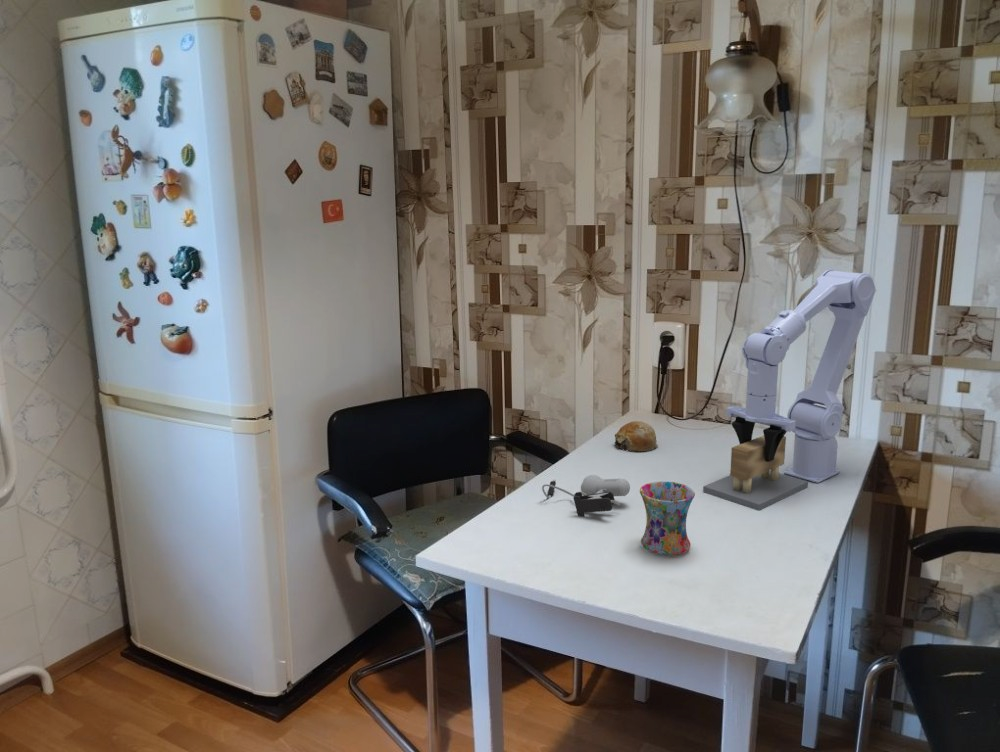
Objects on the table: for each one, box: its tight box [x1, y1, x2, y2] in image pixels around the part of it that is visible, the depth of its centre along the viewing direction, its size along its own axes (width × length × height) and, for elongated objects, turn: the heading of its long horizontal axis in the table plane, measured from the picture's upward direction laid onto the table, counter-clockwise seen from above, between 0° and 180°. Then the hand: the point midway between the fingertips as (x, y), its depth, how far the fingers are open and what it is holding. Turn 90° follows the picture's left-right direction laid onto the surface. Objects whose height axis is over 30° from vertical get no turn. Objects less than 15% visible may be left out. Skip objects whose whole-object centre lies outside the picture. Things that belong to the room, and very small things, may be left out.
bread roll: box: [614, 420, 659, 453], centre depth 192 cm, size 10×10×8 cm
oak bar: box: [729, 435, 787, 480], centre depth 163 cm, size 14×4×6 cm, turn 130°
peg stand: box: [702, 466, 809, 511], centre depth 164 cm, size 18×13×4 cm
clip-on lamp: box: [541, 474, 631, 518], centre depth 158 cm, size 12×6×18 cm
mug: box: [639, 480, 696, 556], centre depth 139 cm, size 12×9×11 cm
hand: (757, 457), depth 163 cm, fingers open, 5 cm apart
